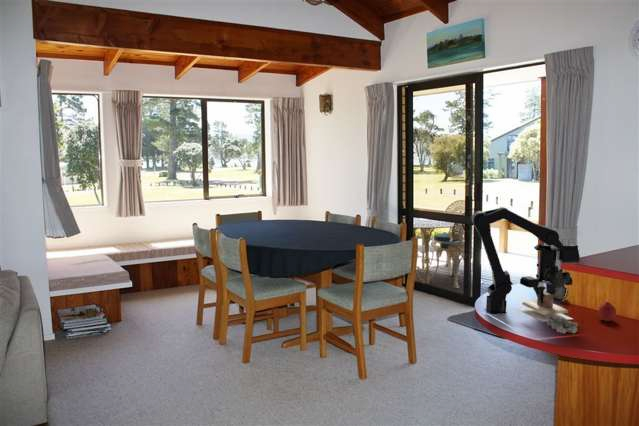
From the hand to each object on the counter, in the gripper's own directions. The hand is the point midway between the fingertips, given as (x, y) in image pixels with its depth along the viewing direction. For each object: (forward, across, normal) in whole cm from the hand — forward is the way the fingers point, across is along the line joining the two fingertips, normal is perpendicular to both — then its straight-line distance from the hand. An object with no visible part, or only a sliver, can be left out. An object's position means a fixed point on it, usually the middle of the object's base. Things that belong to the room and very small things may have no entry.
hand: (544, 303), depth 205 cm
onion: (+5, +17, -12) cm, 21 cm away
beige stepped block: (+2, 0, 0) cm, 2 cm away
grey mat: (+5, 0, 0) cm, 5 cm away
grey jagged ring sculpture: (+5, -4, -15) cm, 17 cm away
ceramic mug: (+5, +17, +18) cm, 25 cm away
